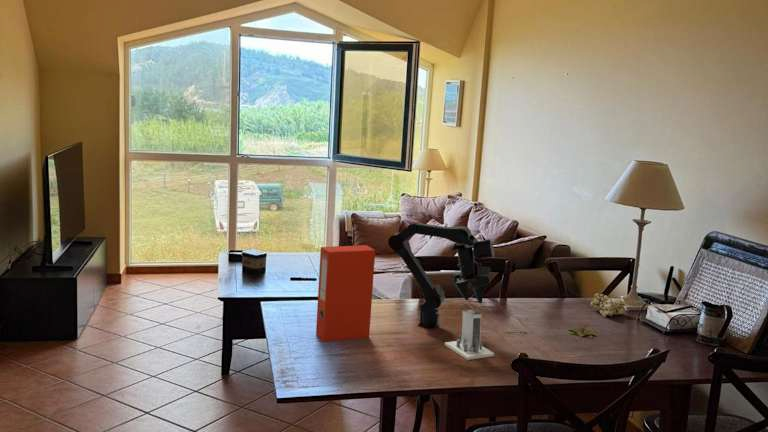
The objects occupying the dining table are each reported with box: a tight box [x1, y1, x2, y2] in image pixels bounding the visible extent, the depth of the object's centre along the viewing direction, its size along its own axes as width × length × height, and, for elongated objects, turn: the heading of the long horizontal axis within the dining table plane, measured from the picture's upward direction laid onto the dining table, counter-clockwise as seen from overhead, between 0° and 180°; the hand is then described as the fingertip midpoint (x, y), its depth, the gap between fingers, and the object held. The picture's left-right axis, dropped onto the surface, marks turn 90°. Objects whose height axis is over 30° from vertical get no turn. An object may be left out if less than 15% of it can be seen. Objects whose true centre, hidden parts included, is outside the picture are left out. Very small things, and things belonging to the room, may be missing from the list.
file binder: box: [315, 244, 376, 343], centre depth 234 cm, size 8×17×32 cm, turn 116°
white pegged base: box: [444, 335, 495, 361], centre depth 231 cm, size 14×11×4 cm
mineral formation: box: [590, 293, 628, 318], centre depth 286 cm, size 8×13×15 cm
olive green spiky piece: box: [568, 321, 598, 339], centre depth 258 cm, size 12×12×5 cm
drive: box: [461, 309, 482, 351], centre depth 230 cm, size 6×4×12 cm, turn 28°
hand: (473, 301), depth 248 cm, fingers open, 9 cm apart
